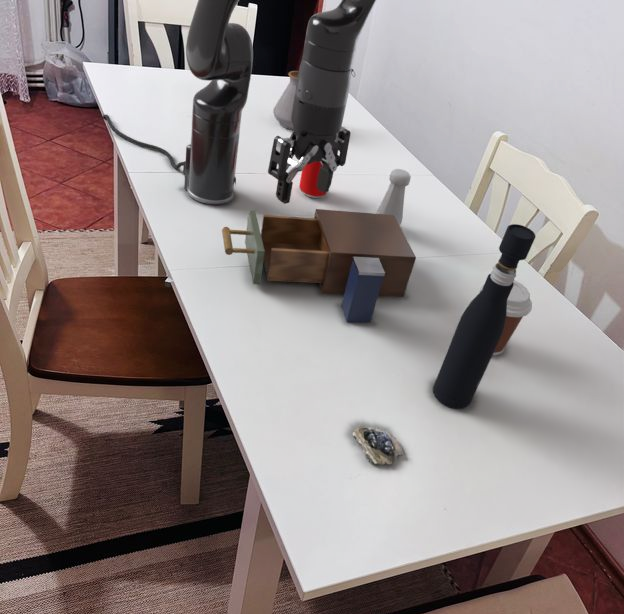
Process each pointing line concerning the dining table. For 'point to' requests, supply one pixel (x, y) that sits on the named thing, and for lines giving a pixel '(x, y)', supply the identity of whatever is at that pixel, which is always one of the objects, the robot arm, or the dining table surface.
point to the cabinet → (364, 249)
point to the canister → (362, 289)
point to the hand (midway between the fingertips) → (302, 195)
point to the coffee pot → (288, 102)
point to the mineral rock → (378, 444)
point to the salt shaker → (395, 195)
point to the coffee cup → (514, 313)
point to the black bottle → (481, 324)
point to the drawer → (282, 248)
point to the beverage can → (311, 180)
